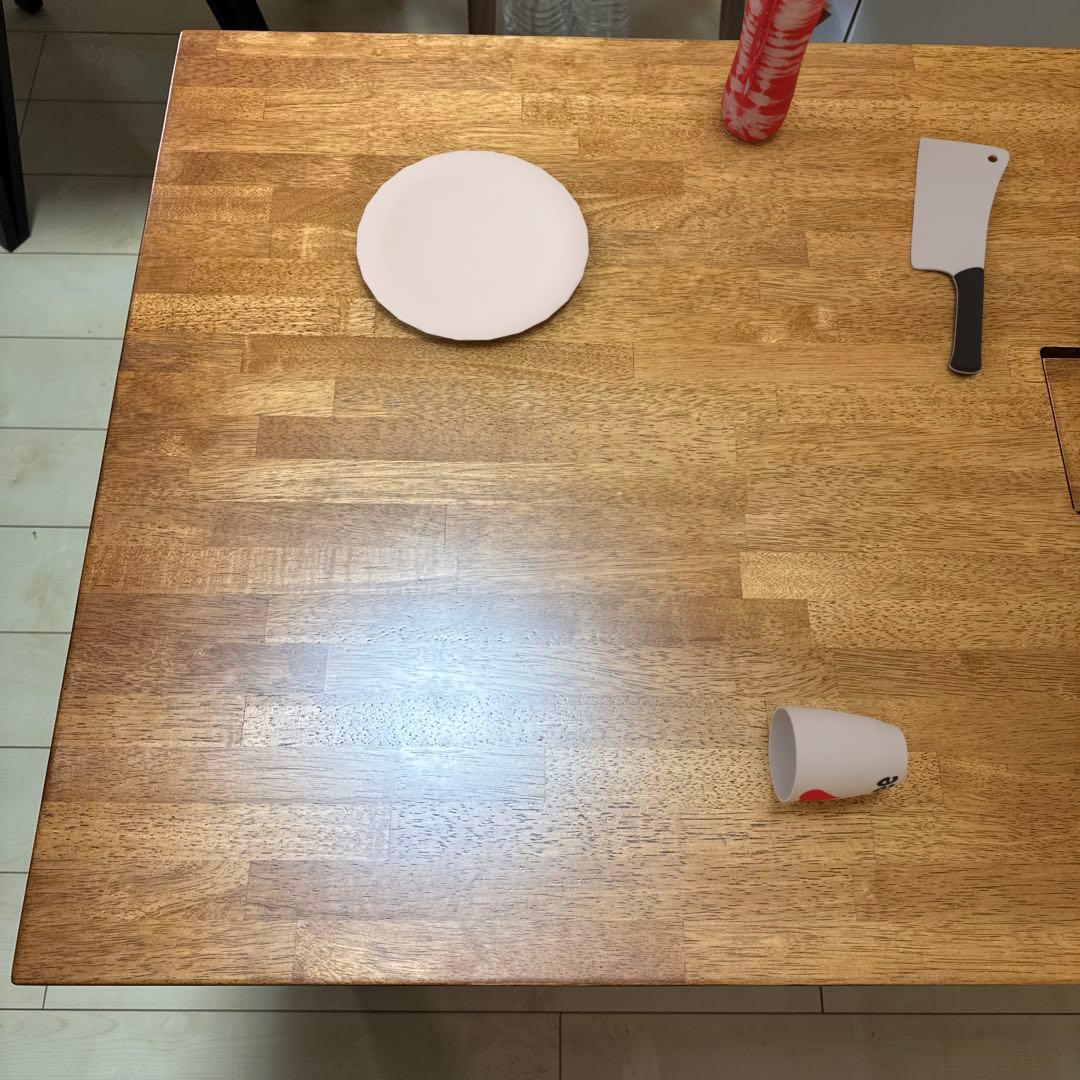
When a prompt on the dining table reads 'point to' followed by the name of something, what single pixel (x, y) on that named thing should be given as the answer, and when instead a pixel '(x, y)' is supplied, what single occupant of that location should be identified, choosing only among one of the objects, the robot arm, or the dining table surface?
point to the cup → (832, 754)
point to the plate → (472, 245)
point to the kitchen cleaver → (957, 230)
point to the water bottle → (768, 64)
